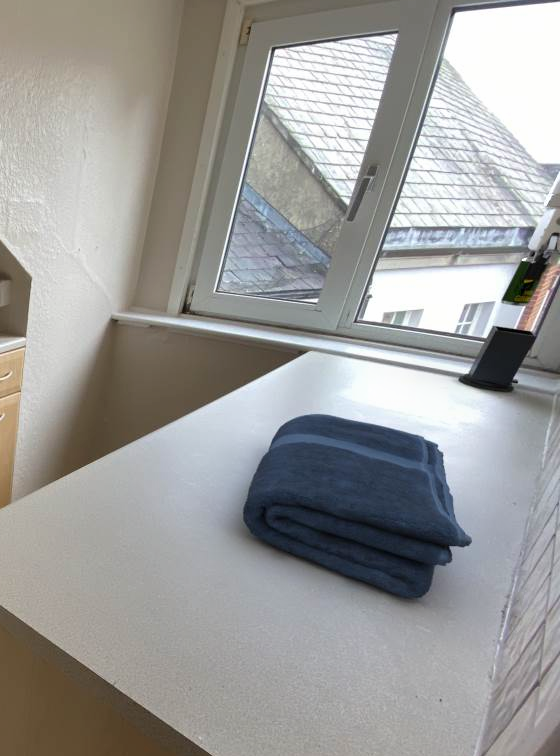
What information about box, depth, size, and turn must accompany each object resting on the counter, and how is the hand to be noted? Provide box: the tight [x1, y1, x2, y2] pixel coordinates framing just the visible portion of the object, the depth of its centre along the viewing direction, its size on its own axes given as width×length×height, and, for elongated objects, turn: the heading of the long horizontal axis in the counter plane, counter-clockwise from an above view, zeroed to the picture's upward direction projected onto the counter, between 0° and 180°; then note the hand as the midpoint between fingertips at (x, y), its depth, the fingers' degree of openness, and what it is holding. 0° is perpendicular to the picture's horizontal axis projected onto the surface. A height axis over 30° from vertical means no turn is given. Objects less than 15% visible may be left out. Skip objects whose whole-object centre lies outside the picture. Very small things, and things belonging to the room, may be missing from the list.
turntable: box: [457, 375, 515, 393], centre depth 148 cm, size 11×11×1 cm
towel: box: [242, 413, 473, 600], centre depth 85 cm, size 24×43×10 cm, turn 142°
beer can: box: [501, 255, 552, 307], centre depth 144 cm, size 5×5×12 cm
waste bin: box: [463, 325, 538, 388], centre depth 144 cm, size 10×10×14 cm
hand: (527, 277), depth 143 cm, fingers closed on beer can, 5 cm apart
